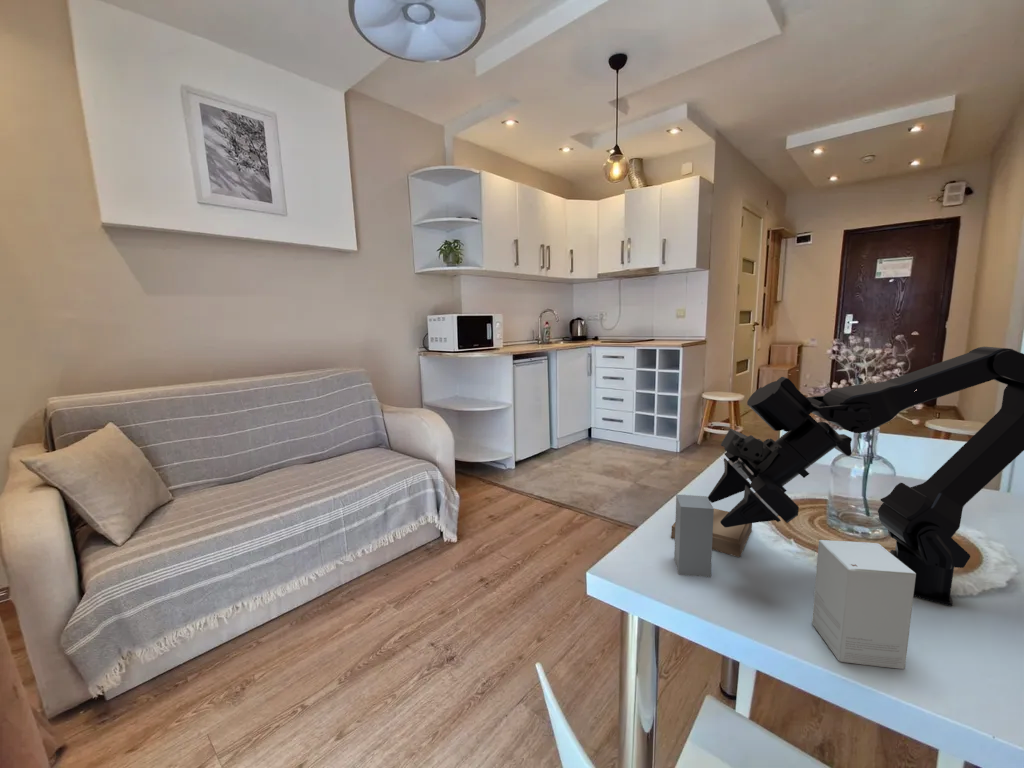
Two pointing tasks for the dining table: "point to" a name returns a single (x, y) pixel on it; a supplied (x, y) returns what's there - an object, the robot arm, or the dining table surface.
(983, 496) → the dining table surface
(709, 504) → the block
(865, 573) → the supplement box
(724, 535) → the walnut stand
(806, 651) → the dining table surface
